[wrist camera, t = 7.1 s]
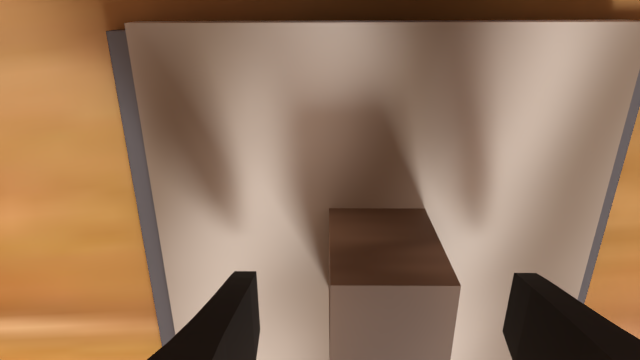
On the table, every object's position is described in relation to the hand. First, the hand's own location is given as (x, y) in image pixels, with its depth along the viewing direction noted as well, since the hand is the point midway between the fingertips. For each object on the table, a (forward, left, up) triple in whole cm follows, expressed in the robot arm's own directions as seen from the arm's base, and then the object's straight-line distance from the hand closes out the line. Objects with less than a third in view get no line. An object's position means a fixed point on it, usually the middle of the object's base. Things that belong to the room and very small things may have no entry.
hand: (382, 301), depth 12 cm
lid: (0, 0, -3) cm, 3 cm away
